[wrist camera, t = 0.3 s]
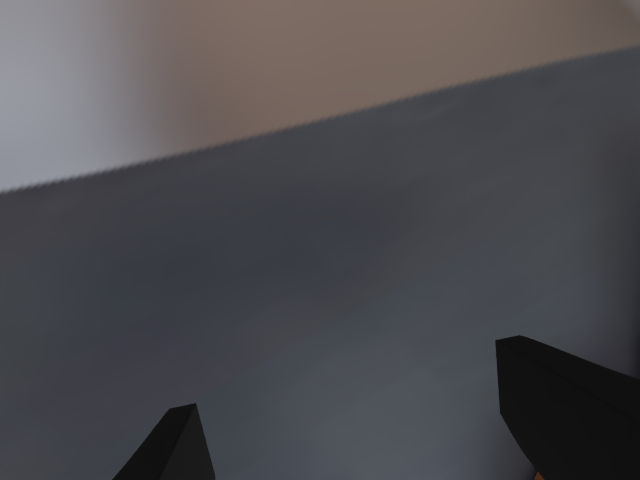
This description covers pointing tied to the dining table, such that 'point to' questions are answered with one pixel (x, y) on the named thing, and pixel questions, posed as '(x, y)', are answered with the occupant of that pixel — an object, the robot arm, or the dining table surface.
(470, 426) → the dining table surface
